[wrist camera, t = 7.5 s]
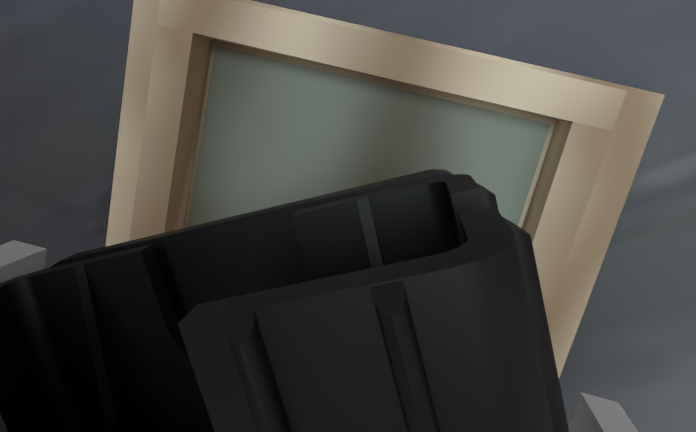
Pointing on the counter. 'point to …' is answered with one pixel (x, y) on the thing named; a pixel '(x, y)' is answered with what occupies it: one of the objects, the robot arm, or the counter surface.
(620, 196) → the picture frame
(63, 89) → the counter surface
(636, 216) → the counter surface
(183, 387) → the end cap
